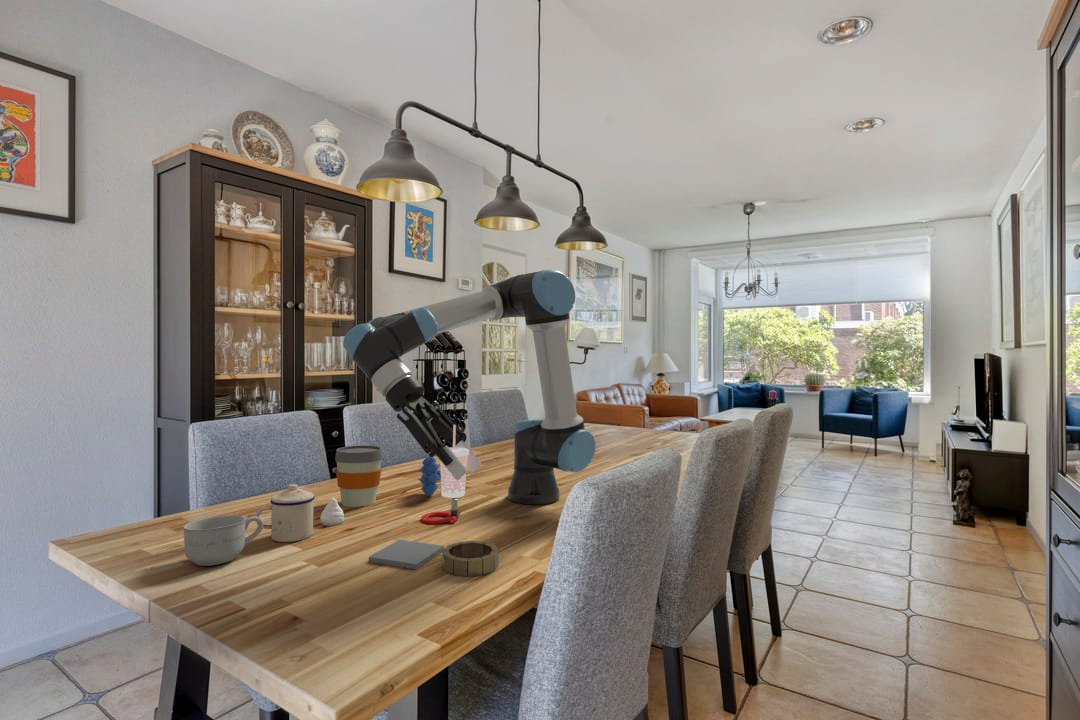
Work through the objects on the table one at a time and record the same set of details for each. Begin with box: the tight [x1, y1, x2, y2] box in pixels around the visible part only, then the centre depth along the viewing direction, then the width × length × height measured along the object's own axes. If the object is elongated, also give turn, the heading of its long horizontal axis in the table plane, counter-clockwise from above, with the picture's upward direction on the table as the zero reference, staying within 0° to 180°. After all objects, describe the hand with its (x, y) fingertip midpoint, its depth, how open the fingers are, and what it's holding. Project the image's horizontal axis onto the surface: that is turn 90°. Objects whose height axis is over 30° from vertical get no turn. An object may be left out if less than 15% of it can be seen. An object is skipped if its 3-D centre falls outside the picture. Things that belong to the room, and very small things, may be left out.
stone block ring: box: [441, 540, 500, 578], centre depth 109 cm, size 11×11×3 cm
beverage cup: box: [439, 424, 470, 499], centre depth 110 cm, size 6×6×14 cm
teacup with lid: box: [255, 483, 315, 543], centre depth 124 cm, size 12×9×12 cm
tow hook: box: [420, 497, 461, 525], centre depth 139 cm, size 8×13×9 cm
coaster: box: [368, 539, 445, 570], centre depth 114 cm, size 11×11×1 cm
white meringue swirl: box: [319, 497, 345, 526], centre depth 135 cm, size 6×6×6 cm
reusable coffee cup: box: [334, 444, 383, 508], centre depth 153 cm, size 13×13×15 cm
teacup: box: [182, 514, 264, 567], centre depth 110 cm, size 14×11×8 cm
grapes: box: [419, 456, 441, 497], centre depth 161 cm, size 12×7×12 cm, turn 29°
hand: (469, 472), depth 109 cm, fingers closed on beverage cup, 6 cm apart
